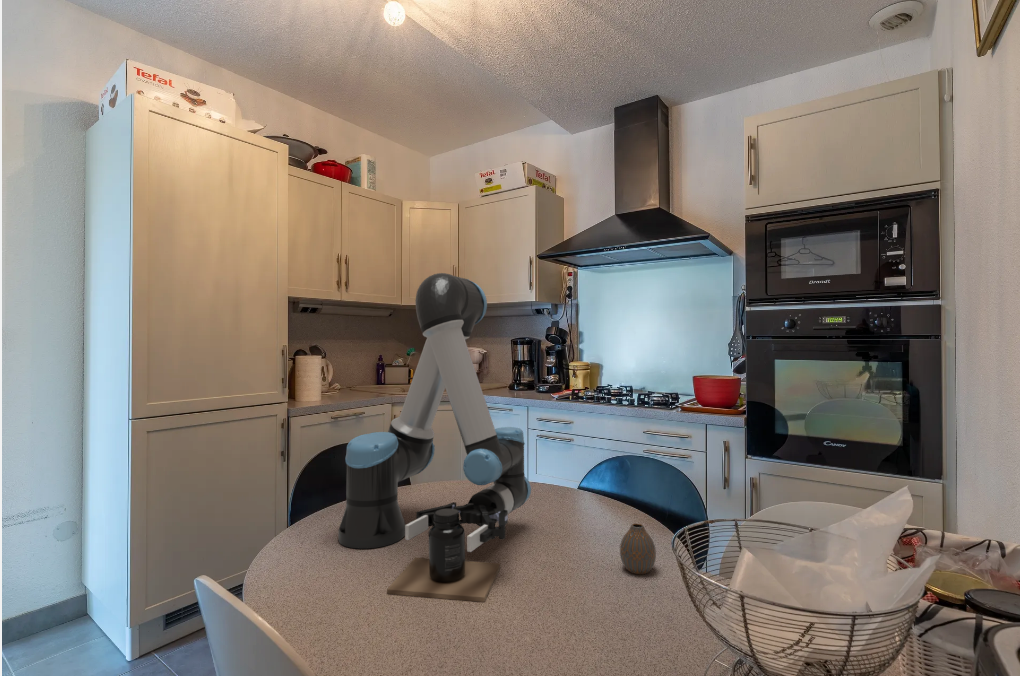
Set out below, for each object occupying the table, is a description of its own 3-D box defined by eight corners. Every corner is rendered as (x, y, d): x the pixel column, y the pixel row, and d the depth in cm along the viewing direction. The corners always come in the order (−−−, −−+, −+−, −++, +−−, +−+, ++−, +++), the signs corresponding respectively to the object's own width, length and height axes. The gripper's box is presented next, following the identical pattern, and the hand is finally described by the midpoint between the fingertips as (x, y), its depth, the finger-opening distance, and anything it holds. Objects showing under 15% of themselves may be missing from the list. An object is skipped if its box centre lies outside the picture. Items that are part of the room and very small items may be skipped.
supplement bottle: (468, 568, 99) (467, 506, 100) (461, 584, 93) (461, 518, 93) (433, 567, 100) (433, 506, 100) (424, 583, 93) (424, 517, 94)
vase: (657, 579, 96) (656, 532, 96) (620, 576, 97) (619, 530, 98) (654, 563, 103) (654, 520, 103) (619, 561, 104) (619, 518, 104)
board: (386, 593, 91) (386, 589, 91) (415, 561, 105) (415, 557, 105) (484, 602, 88) (484, 597, 88) (500, 567, 102) (500, 563, 102)
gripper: (542, 530, 107) (497, 571, 88) (442, 514, 118) (383, 547, 99) (542, 495, 107) (497, 527, 88) (442, 482, 118) (383, 508, 99)
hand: (436, 538), depth 94 cm, fingers open, 13 cm apart
